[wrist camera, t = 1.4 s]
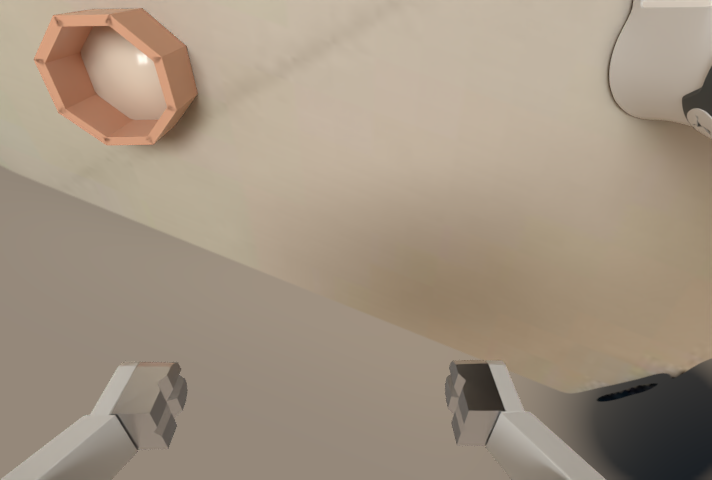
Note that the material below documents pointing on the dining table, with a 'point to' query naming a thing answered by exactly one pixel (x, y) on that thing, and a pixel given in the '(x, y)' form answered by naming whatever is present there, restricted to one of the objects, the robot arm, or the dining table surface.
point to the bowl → (116, 74)
